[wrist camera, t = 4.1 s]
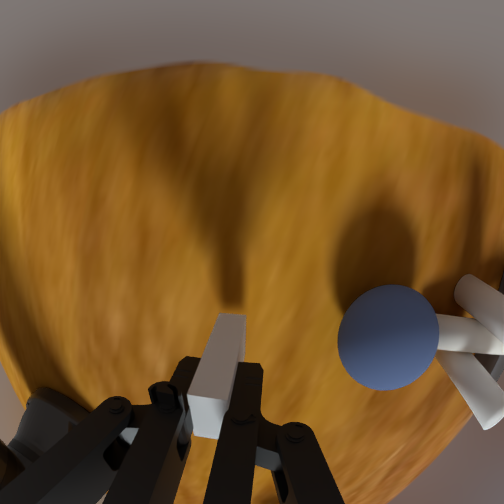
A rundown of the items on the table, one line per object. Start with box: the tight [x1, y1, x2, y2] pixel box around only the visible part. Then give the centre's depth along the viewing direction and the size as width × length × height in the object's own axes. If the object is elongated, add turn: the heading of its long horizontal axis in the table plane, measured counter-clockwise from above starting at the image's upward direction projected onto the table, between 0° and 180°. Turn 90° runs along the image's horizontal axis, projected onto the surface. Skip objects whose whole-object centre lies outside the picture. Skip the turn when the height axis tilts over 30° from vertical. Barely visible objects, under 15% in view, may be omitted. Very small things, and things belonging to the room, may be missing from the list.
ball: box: [338, 285, 439, 390], centre depth 13 cm, size 6×6×6 cm
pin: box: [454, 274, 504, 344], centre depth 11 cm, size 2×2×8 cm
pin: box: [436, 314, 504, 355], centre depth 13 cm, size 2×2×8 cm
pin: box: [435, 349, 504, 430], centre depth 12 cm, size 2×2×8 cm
